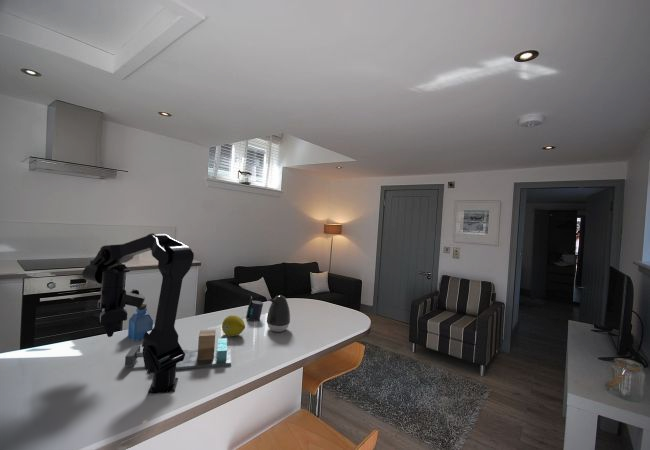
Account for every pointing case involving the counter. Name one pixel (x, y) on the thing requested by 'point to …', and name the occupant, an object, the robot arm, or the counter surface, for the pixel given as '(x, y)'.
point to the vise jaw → (134, 355)
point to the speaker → (254, 310)
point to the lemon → (233, 325)
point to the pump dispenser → (278, 314)
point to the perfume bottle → (140, 323)
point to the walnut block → (206, 344)
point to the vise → (220, 359)
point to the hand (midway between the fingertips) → (110, 336)
